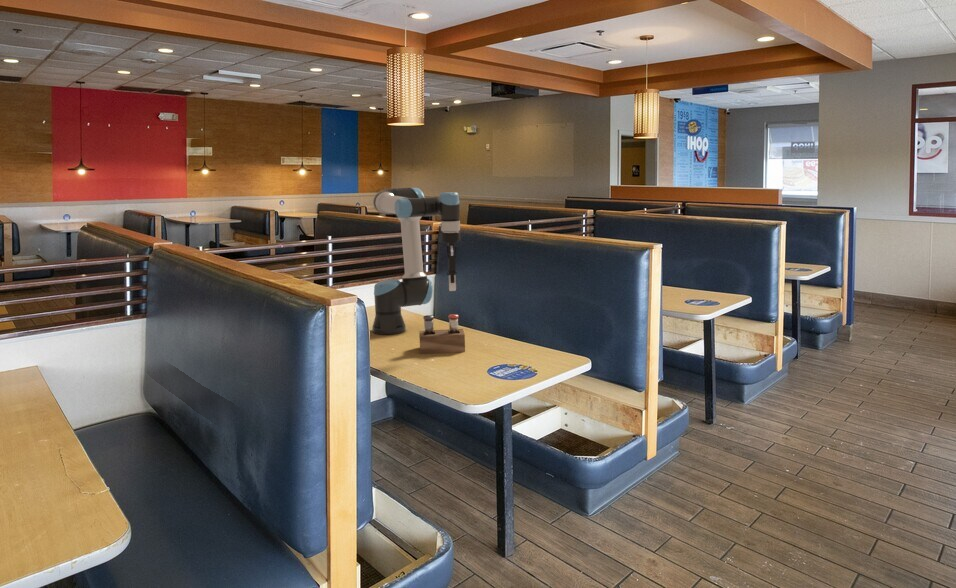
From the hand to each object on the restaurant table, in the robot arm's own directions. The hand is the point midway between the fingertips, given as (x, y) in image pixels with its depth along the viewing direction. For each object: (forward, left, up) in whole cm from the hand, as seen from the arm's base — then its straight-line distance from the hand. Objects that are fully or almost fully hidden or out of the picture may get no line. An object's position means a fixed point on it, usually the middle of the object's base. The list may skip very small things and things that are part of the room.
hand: (452, 290), depth 262 cm
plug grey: (0, -10, -18) cm, 20 cm away
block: (0, -5, -24) cm, 25 cm away
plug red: (0, 0, -18) cm, 18 cm away
